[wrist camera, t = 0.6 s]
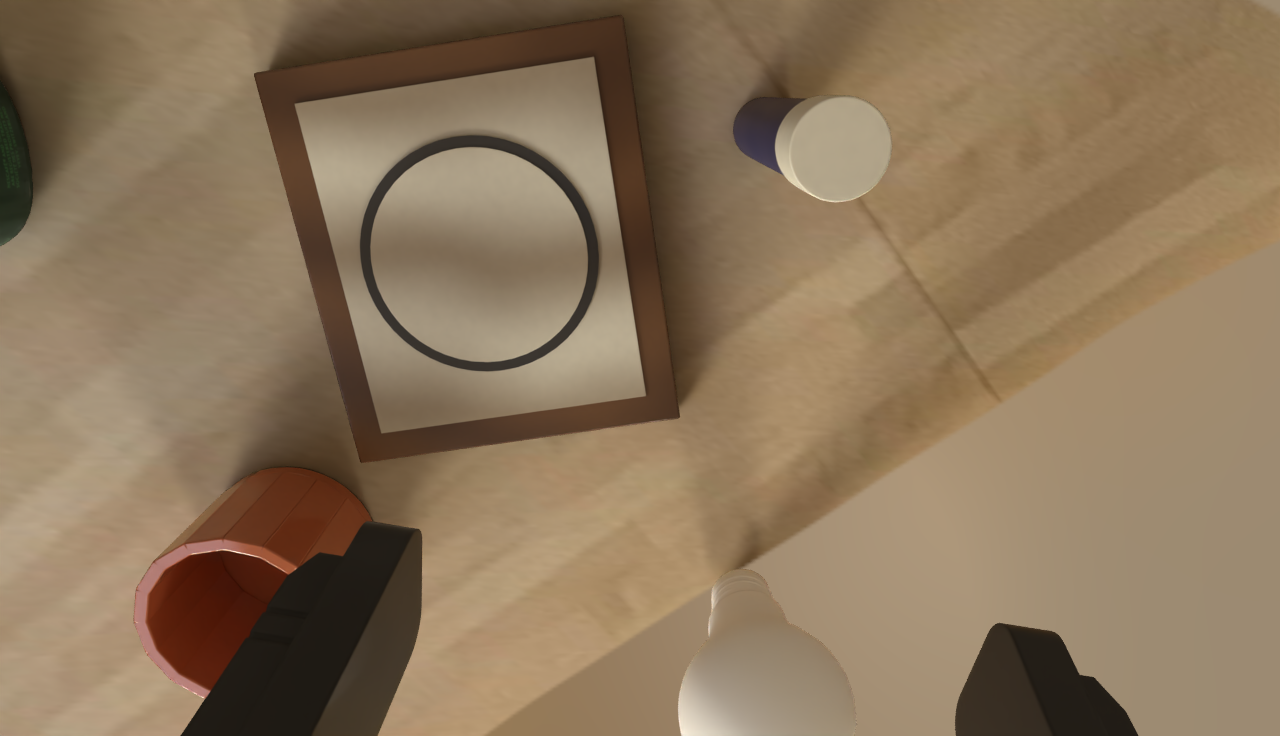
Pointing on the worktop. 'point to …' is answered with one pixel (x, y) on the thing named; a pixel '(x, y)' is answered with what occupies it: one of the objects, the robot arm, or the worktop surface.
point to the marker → (818, 142)
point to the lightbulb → (761, 672)
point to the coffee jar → (13, 171)
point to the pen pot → (237, 568)
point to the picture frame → (478, 237)
